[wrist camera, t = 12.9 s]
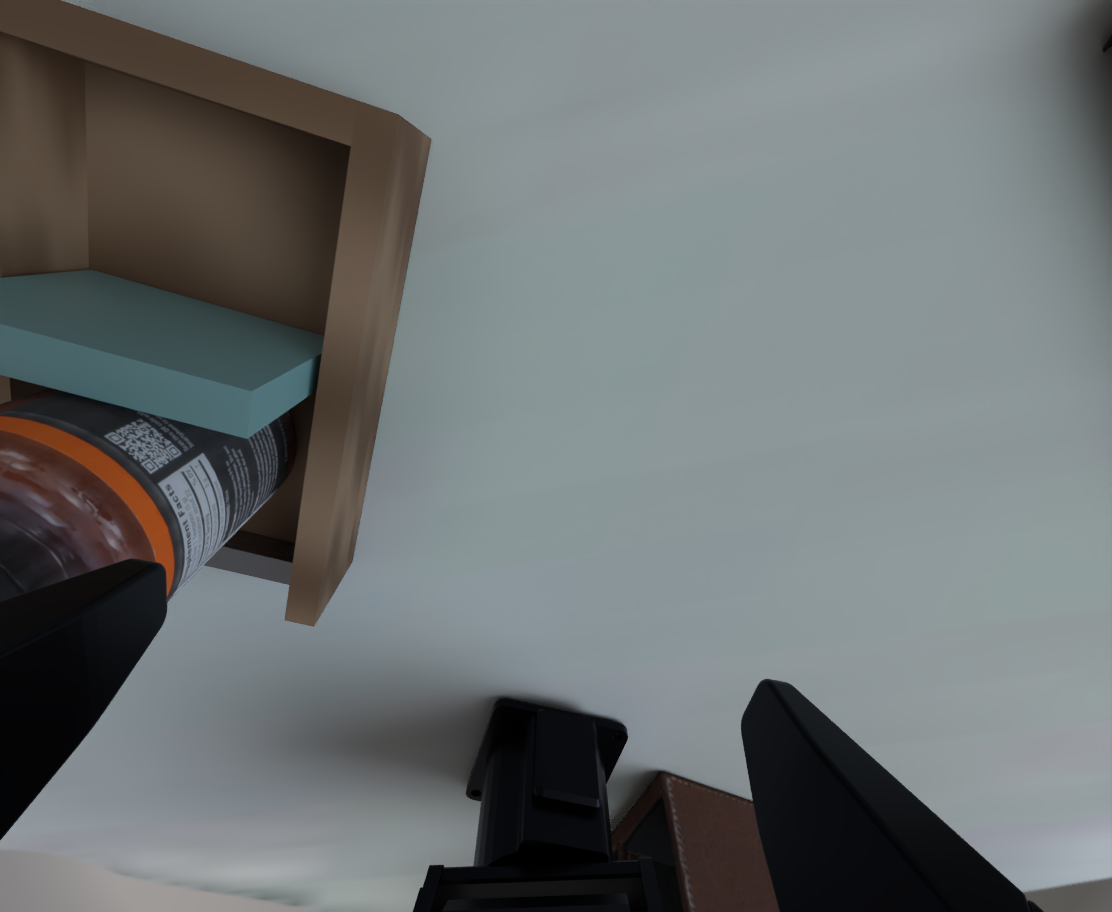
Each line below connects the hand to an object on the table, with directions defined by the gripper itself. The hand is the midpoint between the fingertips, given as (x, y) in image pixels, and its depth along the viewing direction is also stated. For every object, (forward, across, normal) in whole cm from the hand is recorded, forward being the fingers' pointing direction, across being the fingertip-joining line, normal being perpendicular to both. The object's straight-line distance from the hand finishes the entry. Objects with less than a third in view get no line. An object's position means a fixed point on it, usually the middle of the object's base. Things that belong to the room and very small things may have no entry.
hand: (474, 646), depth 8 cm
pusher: (+12, +10, 0) cm, 15 cm away
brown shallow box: (+13, +10, 0) cm, 16 cm away
